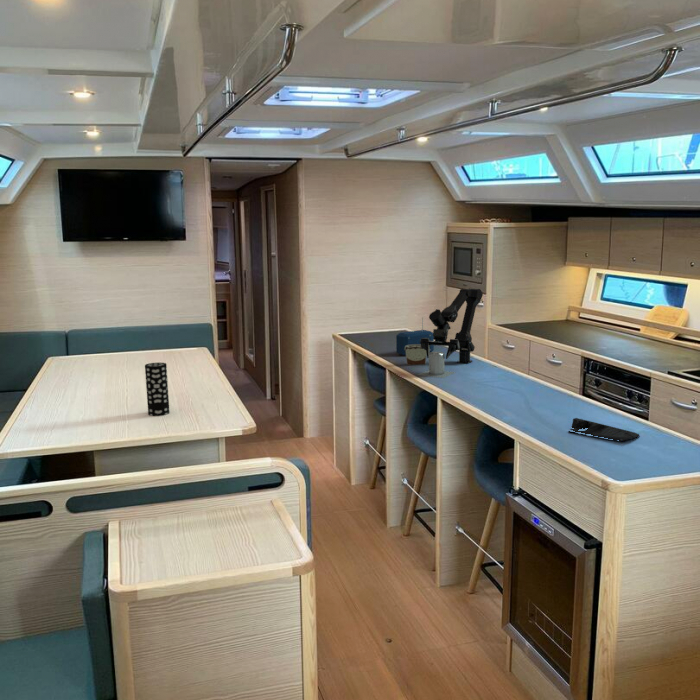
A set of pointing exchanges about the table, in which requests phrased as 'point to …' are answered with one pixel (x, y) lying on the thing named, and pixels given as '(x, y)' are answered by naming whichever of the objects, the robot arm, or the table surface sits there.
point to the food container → (415, 354)
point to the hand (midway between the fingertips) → (436, 358)
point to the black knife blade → (602, 430)
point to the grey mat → (446, 373)
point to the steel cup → (436, 363)
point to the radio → (412, 339)
